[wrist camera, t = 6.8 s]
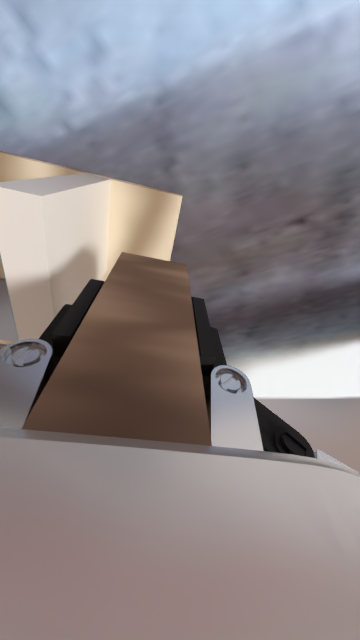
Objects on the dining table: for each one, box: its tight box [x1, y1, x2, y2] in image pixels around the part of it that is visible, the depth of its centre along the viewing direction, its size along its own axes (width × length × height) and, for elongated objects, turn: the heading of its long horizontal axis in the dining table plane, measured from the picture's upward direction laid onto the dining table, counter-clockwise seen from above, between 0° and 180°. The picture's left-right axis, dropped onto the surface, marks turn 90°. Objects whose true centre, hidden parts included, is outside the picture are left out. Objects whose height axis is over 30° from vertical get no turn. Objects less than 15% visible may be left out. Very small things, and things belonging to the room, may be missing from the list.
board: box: [0, 151, 182, 344], centre depth 24 cm, size 20×20×1 cm
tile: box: [0, 173, 111, 340], centre depth 16 cm, size 2×8×12 cm, turn 168°
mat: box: [0, 278, 18, 342], centre depth 26 cm, size 8×8×1 cm
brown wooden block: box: [21, 252, 212, 446], centre depth 8 cm, size 4×4×12 cm
